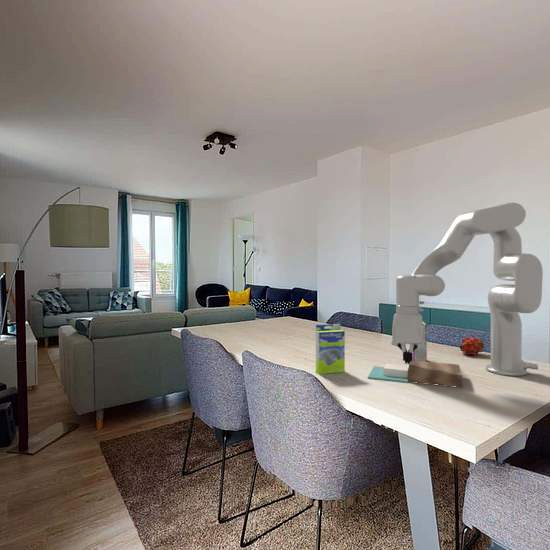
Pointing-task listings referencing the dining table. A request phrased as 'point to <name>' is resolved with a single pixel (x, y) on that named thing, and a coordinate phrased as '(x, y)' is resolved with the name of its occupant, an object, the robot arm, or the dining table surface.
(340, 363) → the box
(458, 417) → the dining table surface
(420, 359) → the candy bar box
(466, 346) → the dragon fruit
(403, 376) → the tile
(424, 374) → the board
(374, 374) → the mat
